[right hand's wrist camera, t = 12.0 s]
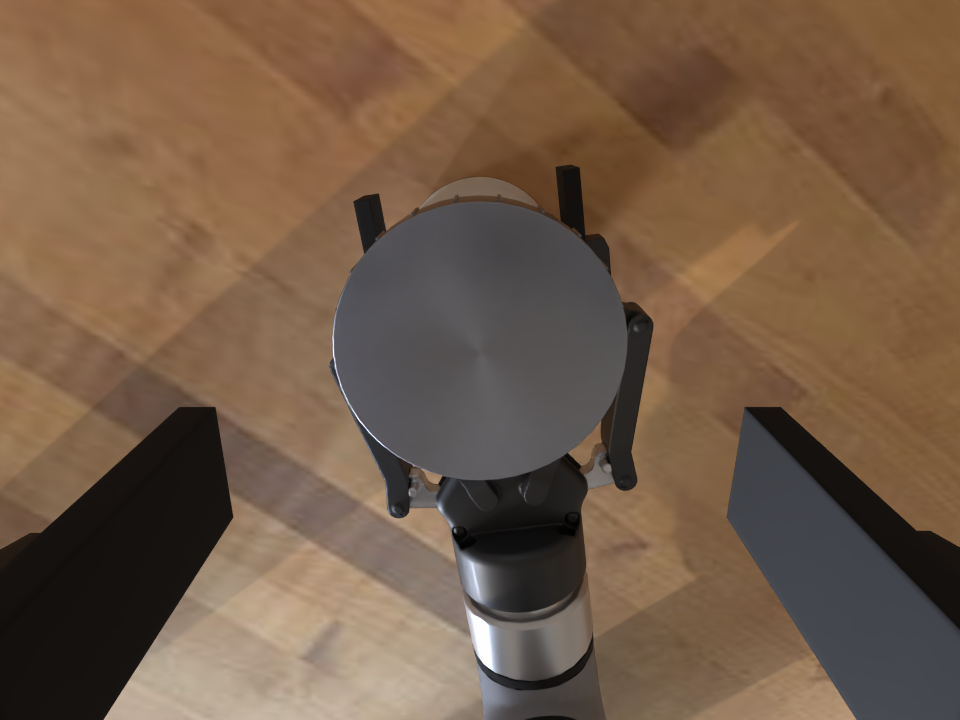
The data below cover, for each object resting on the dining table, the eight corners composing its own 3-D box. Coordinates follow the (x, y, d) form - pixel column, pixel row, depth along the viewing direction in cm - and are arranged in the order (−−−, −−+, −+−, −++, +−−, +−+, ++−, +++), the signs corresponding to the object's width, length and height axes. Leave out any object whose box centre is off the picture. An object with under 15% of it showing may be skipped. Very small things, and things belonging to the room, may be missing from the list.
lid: (337, 440, 23) (325, 466, 22) (351, 174, 20) (338, 178, 18) (588, 469, 24) (597, 496, 22) (643, 212, 20) (659, 220, 19)
